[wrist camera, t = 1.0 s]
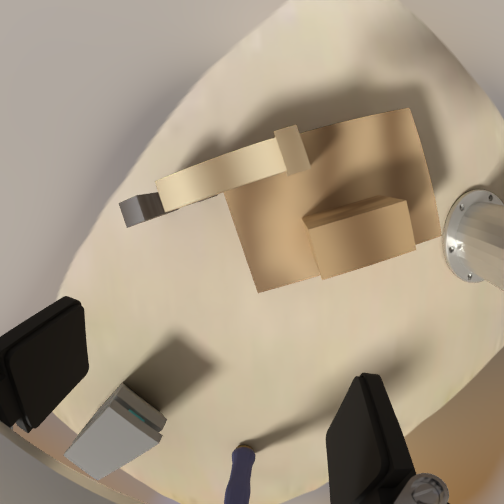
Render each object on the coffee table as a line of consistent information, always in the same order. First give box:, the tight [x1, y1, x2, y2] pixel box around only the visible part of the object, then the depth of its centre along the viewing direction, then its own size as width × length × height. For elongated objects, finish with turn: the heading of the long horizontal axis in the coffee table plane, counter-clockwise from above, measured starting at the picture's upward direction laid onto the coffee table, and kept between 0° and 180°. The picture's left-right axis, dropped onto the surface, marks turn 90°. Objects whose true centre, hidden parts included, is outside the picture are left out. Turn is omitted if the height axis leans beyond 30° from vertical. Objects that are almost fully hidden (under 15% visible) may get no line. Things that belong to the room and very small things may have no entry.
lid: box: [224, 108, 442, 293], centre depth 22 cm, size 18×12×8 cm, turn 108°
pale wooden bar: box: [155, 125, 311, 212], centre depth 22 cm, size 11×3×4 cm, turn 108°
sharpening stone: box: [64, 383, 167, 480], centre depth 39 cm, size 25×8×11 cm, turn 138°
